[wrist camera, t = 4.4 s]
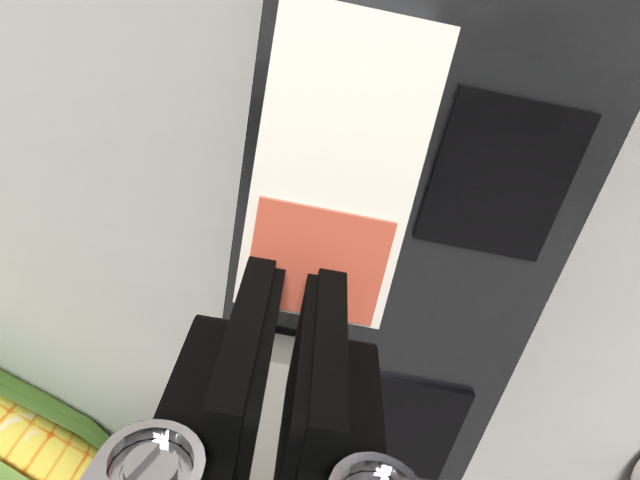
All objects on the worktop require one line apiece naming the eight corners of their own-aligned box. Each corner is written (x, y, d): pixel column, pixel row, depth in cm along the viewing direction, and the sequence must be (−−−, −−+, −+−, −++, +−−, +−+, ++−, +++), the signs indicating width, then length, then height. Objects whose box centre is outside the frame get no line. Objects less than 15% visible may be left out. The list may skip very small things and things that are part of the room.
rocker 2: (443, 28, 10) (462, 27, 9) (373, 295, 12) (379, 332, 11) (288, -5, 10) (280, -13, 8) (244, 271, 12) (231, 305, 11)
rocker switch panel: (788, -471, 10) (1084, -758, 6) (425, 428, 21) (442, 537, 17) (363, -585, 9) (371, -973, 6) (224, 392, 21) (194, 495, 17)
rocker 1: (351, 347, 14) (354, 379, 13) (309, 520, 16) (308, 567, 14) (239, 326, 14) (229, 357, 12) (209, 503, 16) (197, 549, 14)
